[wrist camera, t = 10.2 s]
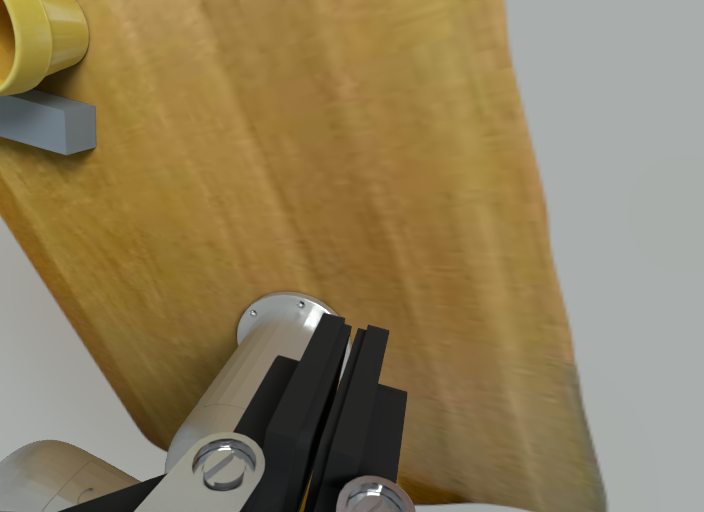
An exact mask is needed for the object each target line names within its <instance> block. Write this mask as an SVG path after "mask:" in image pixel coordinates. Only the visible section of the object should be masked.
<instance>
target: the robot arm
mask: <svg viewBox="0 0 704 512" xmlns="http://www.w3.org/2000/svg"><path fill="white" fill-rule="evenodd" d="M344 322H345V318H343V317H339V316H338V315H337V314H336V313H335V312H334V311H333V310H332V309H331V308H330V307H328V306H327V305H326V304H324V303H323V302H321V301H319V300H317V299H316V298H314V297H311V296H308V295H305V294H302V293H297V292H291V291H289V292H275V293H270V294H267V295H265V296H263V297H260V298H259V299H258V300H256V301H255V302H253V303H252V304H251V305H250V306H249V308H248V309H247V310H246V311H245V313H244V314H243V316H242V317H241V319H240V322H239V325H238V330H237V343H238V347H237V349H236V350H235V351H234V353H233V354H232V356H231V357H230V358H229V360H228V361H227V363H226V364H225V365H224V367H223V368H222V370H221V371H220V372H219V374H218V375H217V376H216V378H215V379H214V381H213V382H212V383H211V385H210V386H209V388H208V389H207V390H206V392H205V393H204V395H203V396H202V397H201V399H200V400H199V401H198V403H197V404H196V406H195V407H194V408H193V410H192V411H191V413H190V414H189V416H188V417H187V418H186V420H185V421H184V422H183V424H182V425H181V427H180V428H179V429H178V431H177V433H176V434H175V436H174V438H173V440H172V442H171V445H170V447H169V450H168V454H167V458H166V463H165V474H164V475H161V476H158V477H155V478H152V479H149V480H147V481H144V482H141V481H139V480H137V479H135V478H134V477H132V476H130V475H128V474H126V473H125V472H123V471H121V470H119V469H118V468H116V467H114V466H112V465H110V464H108V463H107V462H105V461H103V460H102V459H100V458H97V457H96V456H94V455H92V454H90V453H88V452H86V451H85V450H82V449H80V448H78V447H76V446H74V445H71V444H69V443H66V442H61V441H57V440H43V441H37V442H33V443H31V444H28V445H25V446H23V447H21V448H20V449H18V450H16V451H14V452H13V453H11V454H10V455H9V456H7V457H6V458H5V459H3V460H2V461H1V462H0V512H299V511H300V508H301V505H302V502H303V499H304V496H305V493H306V490H307V487H308V484H309V481H310V478H311V475H312V478H311V483H310V487H309V491H308V496H307V500H306V505H305V509H304V512H416V511H415V507H414V505H413V503H412V501H411V499H410V498H409V496H408V495H407V494H406V493H405V492H404V491H403V490H402V489H401V488H400V487H399V486H398V485H396V480H397V472H398V464H399V456H400V448H401V441H402V433H403V425H404V417H405V409H406V401H407V392H406V391H402V390H399V389H395V388H392V387H388V386H385V385H381V384H378V381H379V376H380V371H381V367H382V362H383V358H384V353H385V349H386V344H387V340H388V335H389V330H386V329H382V328H379V327H375V326H371V325H368V327H367V330H364V329H360V328H358V330H357V333H356V336H355V339H354V342H353V345H352V346H351V340H350V332H351V328H352V326H349V325H346V324H344ZM340 380H341V381H340ZM339 381H340V384H339ZM338 384H339V387H338ZM337 388H338V390H337ZM336 392H337V393H336ZM312 472H313V474H312Z"/></svg>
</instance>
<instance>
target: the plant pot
mask: <svg viewBox="0 0 704 512" xmlns="http://www.w3.org/2000/svg"><path fill="white" fill-rule="evenodd" d="M88 43H89V29H88V24H87V21H86V18H85V15H84V13H83V11H82V9H81V8H80V6H79V5H78V3H77V2H76V1H75V0H0V96H7V95H13V94H18V93H23V92H26V91H28V90H31V89H32V88H34V87H35V86H37V85H38V84H39V83H40V82H41V81H42V80H43V78H44V77H45V76H48V75H50V74H52V73H55V72H57V71H60V70H62V69H65V68H67V67H70V66H72V65H75V64H76V63H78V62H79V61H80V60H81V59H82V58H83V57H84V55H85V53H86V51H87V48H88Z"/></svg>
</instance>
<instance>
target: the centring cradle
mask: <svg viewBox="0 0 704 512" xmlns="http://www.w3.org/2000/svg"><path fill="white" fill-rule="evenodd" d="M0 137H4V138H7V139H11V140H14V141H18V142H21V143H25V144H28V145H32V146H35V147H39V148H42V149H46V150H49V151H53V152H56V153H60V154H63V155H69V154H73V153H77V152H80V151H84V150H87V149H91V148H95V147H96V114H95V106H93V105H89V104H86V103H82V102H78V101H75V100H71V99H68V98H64V97H60V96H57V95H53V94H49V93H46V92H42V91H38V90H35V89H31V90H28V91H26V92H23V93H18V94H13V95H7V96H0Z"/></svg>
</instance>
